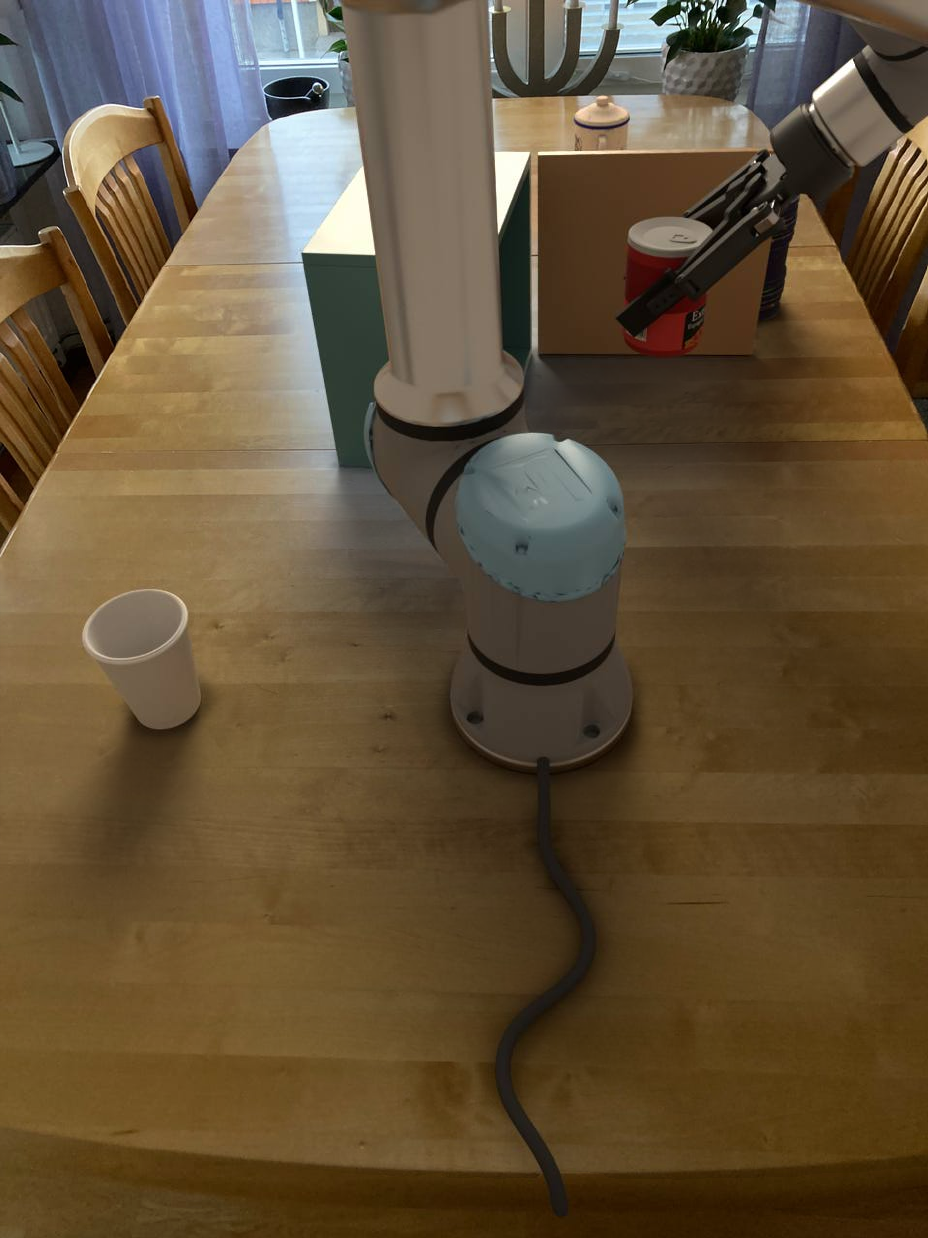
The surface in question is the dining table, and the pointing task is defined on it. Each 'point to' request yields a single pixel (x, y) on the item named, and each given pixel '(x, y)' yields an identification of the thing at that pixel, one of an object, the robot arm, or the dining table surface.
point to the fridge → (354, 304)
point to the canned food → (646, 263)
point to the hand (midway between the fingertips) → (628, 305)
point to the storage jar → (778, 264)
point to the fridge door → (597, 245)
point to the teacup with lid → (601, 127)
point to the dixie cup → (147, 655)
